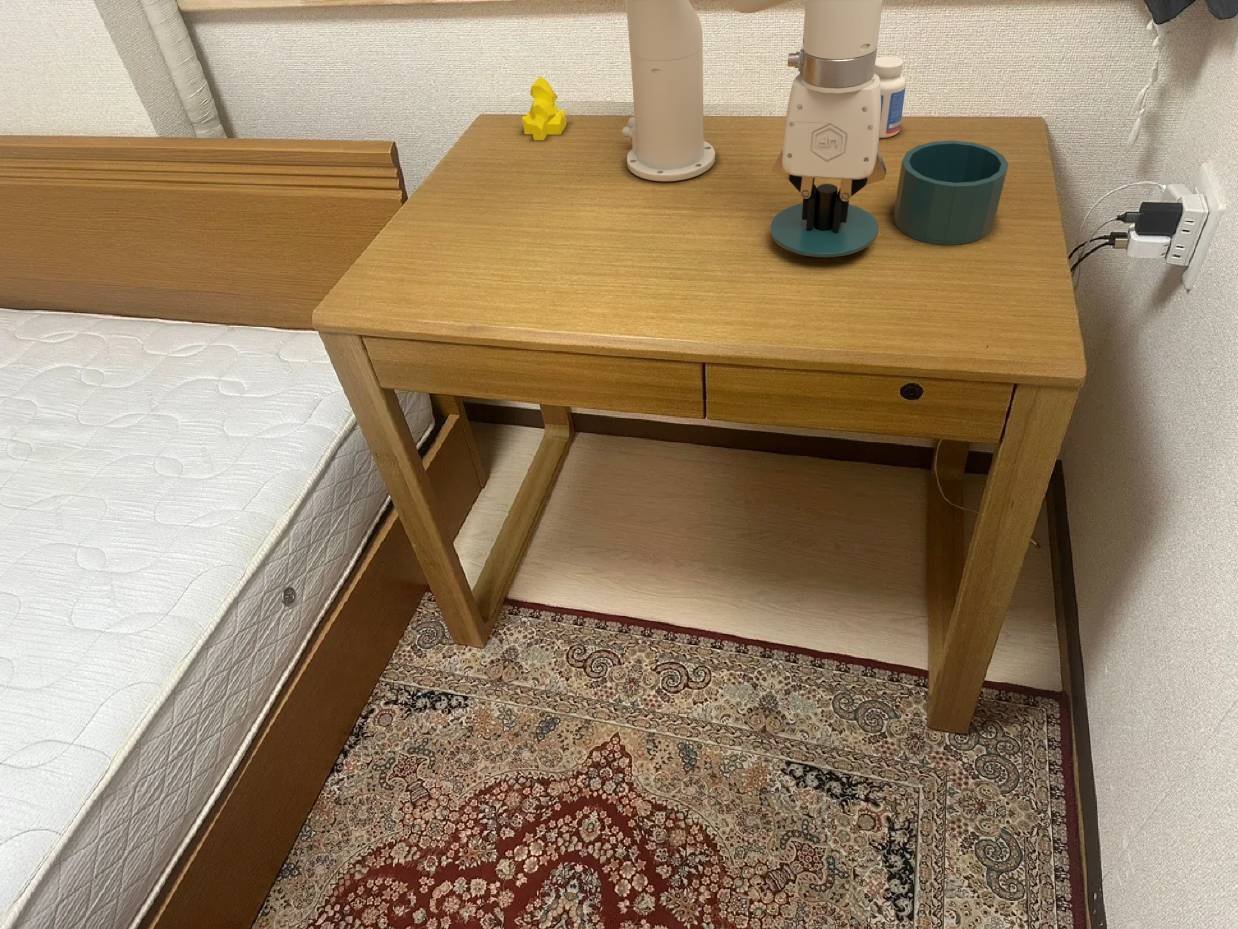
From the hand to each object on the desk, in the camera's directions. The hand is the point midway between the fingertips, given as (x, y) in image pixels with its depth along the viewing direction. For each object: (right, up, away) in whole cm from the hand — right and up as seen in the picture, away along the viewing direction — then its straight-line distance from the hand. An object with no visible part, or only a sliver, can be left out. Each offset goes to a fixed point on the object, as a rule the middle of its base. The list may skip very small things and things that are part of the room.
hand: (823, 224), depth 102 cm
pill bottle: (+14, +20, +23) cm, 33 cm away
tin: (+15, +1, +3) cm, 16 cm away
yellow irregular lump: (-36, +24, +33) cm, 54 cm away
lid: (0, 0, 0) cm, 1 cm away
